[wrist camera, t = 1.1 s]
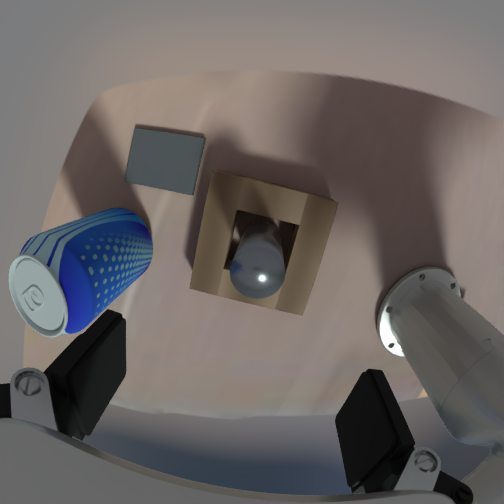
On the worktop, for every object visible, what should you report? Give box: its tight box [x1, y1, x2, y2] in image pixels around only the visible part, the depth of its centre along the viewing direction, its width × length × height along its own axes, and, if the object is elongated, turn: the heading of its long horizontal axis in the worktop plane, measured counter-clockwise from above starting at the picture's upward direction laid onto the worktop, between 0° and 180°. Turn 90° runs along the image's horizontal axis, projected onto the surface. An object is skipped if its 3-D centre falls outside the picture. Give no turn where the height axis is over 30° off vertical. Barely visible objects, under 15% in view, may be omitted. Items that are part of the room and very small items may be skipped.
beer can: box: [8, 208, 153, 337], centre depth 24 cm, size 8×8×16 cm
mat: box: [125, 128, 206, 195], centre depth 28 cm, size 8×6×1 cm
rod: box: [230, 221, 285, 299], centre depth 25 cm, size 4×4×10 cm
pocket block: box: [190, 171, 338, 315], centre depth 29 cm, size 12×12×3 cm
